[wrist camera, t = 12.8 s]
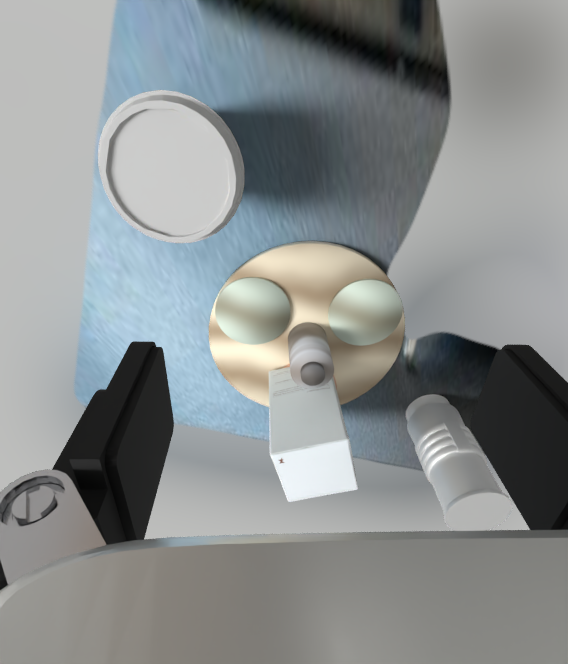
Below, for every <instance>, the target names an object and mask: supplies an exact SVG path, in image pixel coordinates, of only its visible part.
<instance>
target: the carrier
mask: <svg viewBox="0 0 568 664" xmlns="http://www.w3.org/2000/svg"><path fill="white" fill-rule="evenodd" d="M404 331H405V317H404V311H403V306H402V301H401V299H400V296H399V295H398V293H397V291H396V289H395V287H394V285H393V284H392V282H391V281H390V279H389V278H388V277H387V275H386V274H385V273H384V271H383V270H382V269H381V268H380V267H379V266H378V265H376V264H375V263H374V262H373V261H371V260H370V259H369V258H367V257H366V256H365V255H363V254H361V253H359V252H357V251H355V250H353V249H350V248H348V247H345V246H342V245H339V244H334V243H329V242H321V241H299V242H293V243H287V244H283V245H279V246H276V247H273V248H270V249H268V250H266V251H263V252H261V253H259V254H257V255H256V256H254V257H252V258H251V259H249V260H248V261H246V262H245V263H244V264H243V265H241V266H240V267H239V268H238V269H236V271H235V272H234V273H233V274H232V275H231V276H230V277H229V278H228V279H227V281H226V282H225V284H224V285H223V286H222V288H221V290H220V292H219V294H218V296H217V298H216V300H215V303H214V306H213V309H212V313H211V317H210V323H209V342H210V349H211V352H212V355H213V358H214V361H215V363H216V365H217V367H218V369H219V370H220V372H221V373H222V375H223V376H224V378H225V379H226V380H227V381H228V382H229V383H230V384H231V385H232V386H233V387H234V388H235V389H236V390H238V391H239V392H240V393H241V394H243V395H245V396H246V397H248V398H249V399H251V400H253V401H255V402H257V403H259V404H262V405H265V406H267V407H269V371H272V370H277V369H282V368H287V367H290V374H291V377H292V379H293V381H294V382H295V383H296V384H297V385H299V386H301V387H304V388H318V387H321V386H323V385H325V384H327V383H328V382H329V381H330V380H331V378H332V377H333V378H334V382H335V386H336V390H337V394H338V398H339V402H340V405H342V404H345V403H347V402H349V401H352V400H354V399H356V398H358V397H359V396H361V395H362V394H364V393H366V392H367V391H368V390H370V389H371V388H372V387H374V386H375V385H376V384H377V383H378V382H379V381H380V380H381V379H382V378H383V377H384V376H385V375H386V373H387V372H388V371H389V370H390V368H391V367H392V365H393V363H394V362H395V360H396V358H397V356H398V354H399V351H400V349H401V345H402V342H403V338H404Z"/></svg>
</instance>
